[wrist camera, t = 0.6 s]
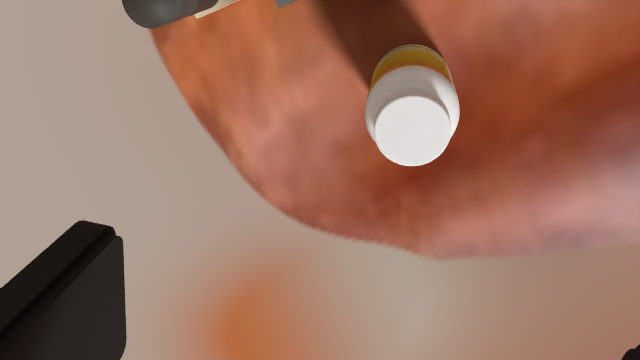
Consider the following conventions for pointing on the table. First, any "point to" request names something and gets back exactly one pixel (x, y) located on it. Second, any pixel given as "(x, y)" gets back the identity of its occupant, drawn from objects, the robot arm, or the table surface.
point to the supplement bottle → (412, 105)
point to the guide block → (283, 2)
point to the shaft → (169, 10)
